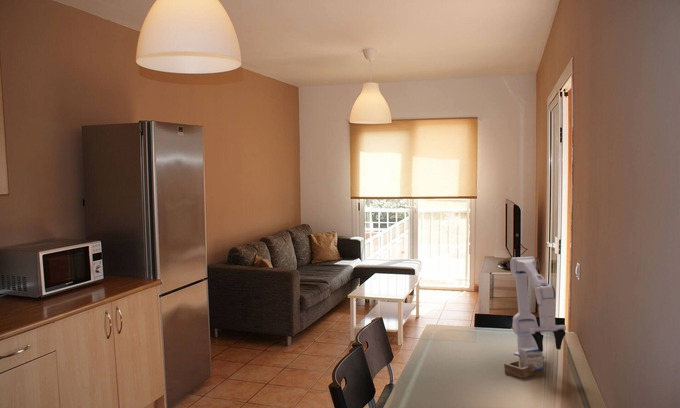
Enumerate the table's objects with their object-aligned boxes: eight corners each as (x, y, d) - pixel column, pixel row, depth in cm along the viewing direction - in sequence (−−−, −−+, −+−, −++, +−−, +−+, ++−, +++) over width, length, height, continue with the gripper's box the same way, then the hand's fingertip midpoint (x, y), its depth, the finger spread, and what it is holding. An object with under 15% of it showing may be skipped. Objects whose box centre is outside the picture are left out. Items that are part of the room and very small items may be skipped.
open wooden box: (516, 368, 224) (516, 360, 224) (534, 374, 217) (534, 365, 217) (504, 372, 221) (504, 364, 220) (522, 378, 213) (522, 369, 213)
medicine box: (526, 372, 220) (525, 351, 219) (520, 369, 224) (519, 348, 224) (543, 369, 222) (542, 348, 221) (536, 366, 226) (535, 345, 226)
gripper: (535, 318, 211) (538, 354, 210) (569, 315, 213) (572, 350, 212) (526, 316, 217) (528, 350, 217) (559, 313, 220) (561, 346, 219)
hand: (549, 350), depth 215 cm, fingers open, 7 cm apart
